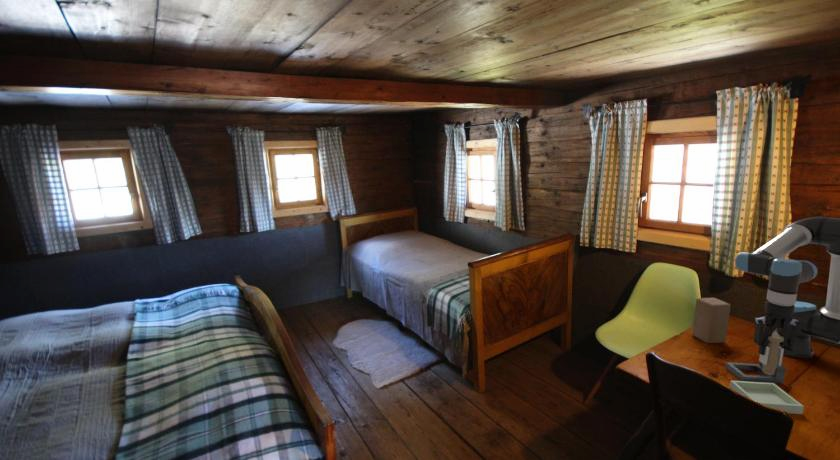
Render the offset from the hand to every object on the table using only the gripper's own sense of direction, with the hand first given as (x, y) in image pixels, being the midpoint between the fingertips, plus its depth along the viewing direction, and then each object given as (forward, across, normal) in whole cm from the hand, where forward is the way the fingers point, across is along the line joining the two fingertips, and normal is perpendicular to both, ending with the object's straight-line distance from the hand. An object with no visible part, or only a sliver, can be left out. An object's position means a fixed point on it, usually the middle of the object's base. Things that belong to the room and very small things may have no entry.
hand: (769, 363), depth 138 cm
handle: (+4, 0, 0) cm, 4 cm away
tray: (+15, 0, 0) cm, 15 cm away
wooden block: (+15, -8, -50) cm, 53 cm away
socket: (+15, -8, -17) cm, 24 cm away
